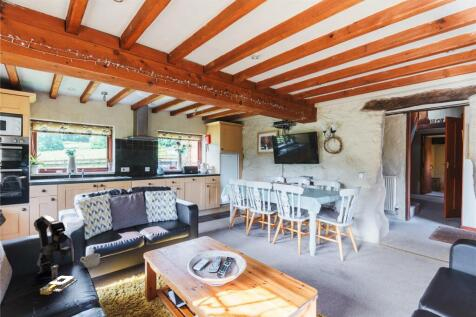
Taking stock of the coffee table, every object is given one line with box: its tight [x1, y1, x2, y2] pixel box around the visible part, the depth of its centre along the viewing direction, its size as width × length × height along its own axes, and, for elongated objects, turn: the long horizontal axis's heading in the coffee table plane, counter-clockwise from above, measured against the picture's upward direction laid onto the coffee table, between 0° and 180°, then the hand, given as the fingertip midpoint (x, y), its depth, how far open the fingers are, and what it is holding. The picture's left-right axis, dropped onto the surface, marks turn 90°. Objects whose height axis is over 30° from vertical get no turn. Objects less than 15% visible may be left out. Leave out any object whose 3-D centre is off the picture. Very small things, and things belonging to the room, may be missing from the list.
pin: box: [51, 264, 59, 281], centre depth 163 cm, size 4×4×9 cm
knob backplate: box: [39, 275, 77, 296], centre depth 153 cm, size 14×17×2 cm
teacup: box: [79, 253, 101, 269], centre depth 181 cm, size 14×11×8 cm
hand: (55, 261), depth 163 cm, fingers open, 9 cm apart
